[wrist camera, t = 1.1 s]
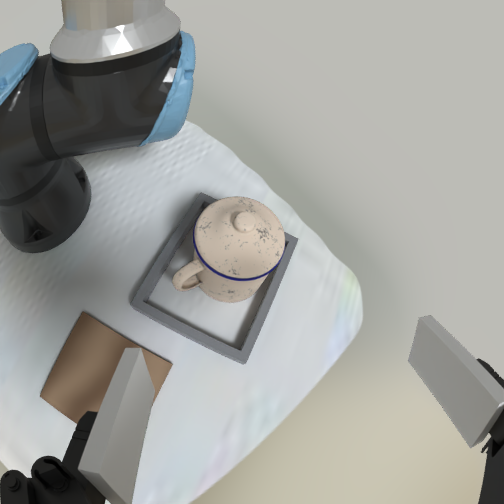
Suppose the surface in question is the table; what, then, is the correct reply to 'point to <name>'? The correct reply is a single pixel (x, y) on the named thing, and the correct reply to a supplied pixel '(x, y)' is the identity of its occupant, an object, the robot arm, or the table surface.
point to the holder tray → (186, 330)
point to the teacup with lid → (232, 249)
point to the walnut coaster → (92, 368)
